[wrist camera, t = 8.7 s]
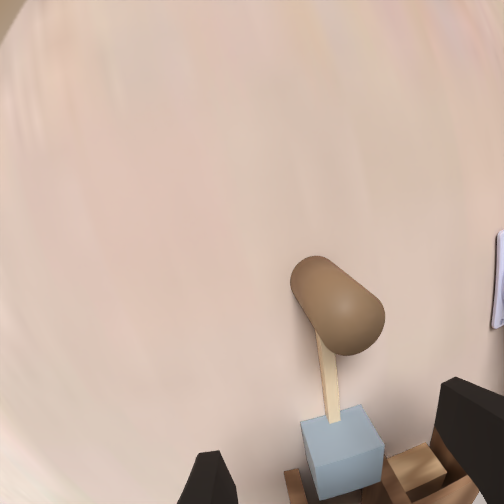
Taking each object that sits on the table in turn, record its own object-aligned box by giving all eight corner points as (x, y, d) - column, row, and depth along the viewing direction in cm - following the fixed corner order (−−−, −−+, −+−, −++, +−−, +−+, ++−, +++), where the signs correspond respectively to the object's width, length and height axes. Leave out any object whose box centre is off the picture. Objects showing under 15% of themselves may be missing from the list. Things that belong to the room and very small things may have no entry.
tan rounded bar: (348, 247, 18) (401, 278, 12) (360, 442, 21) (387, 495, 16) (270, 265, 18) (293, 307, 12) (306, 458, 21) (324, 516, 15)
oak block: (425, 441, 23) (447, 472, 18) (418, 467, 24) (436, 496, 19) (382, 459, 22) (401, 493, 18) (378, 484, 23) (394, 516, 19)
